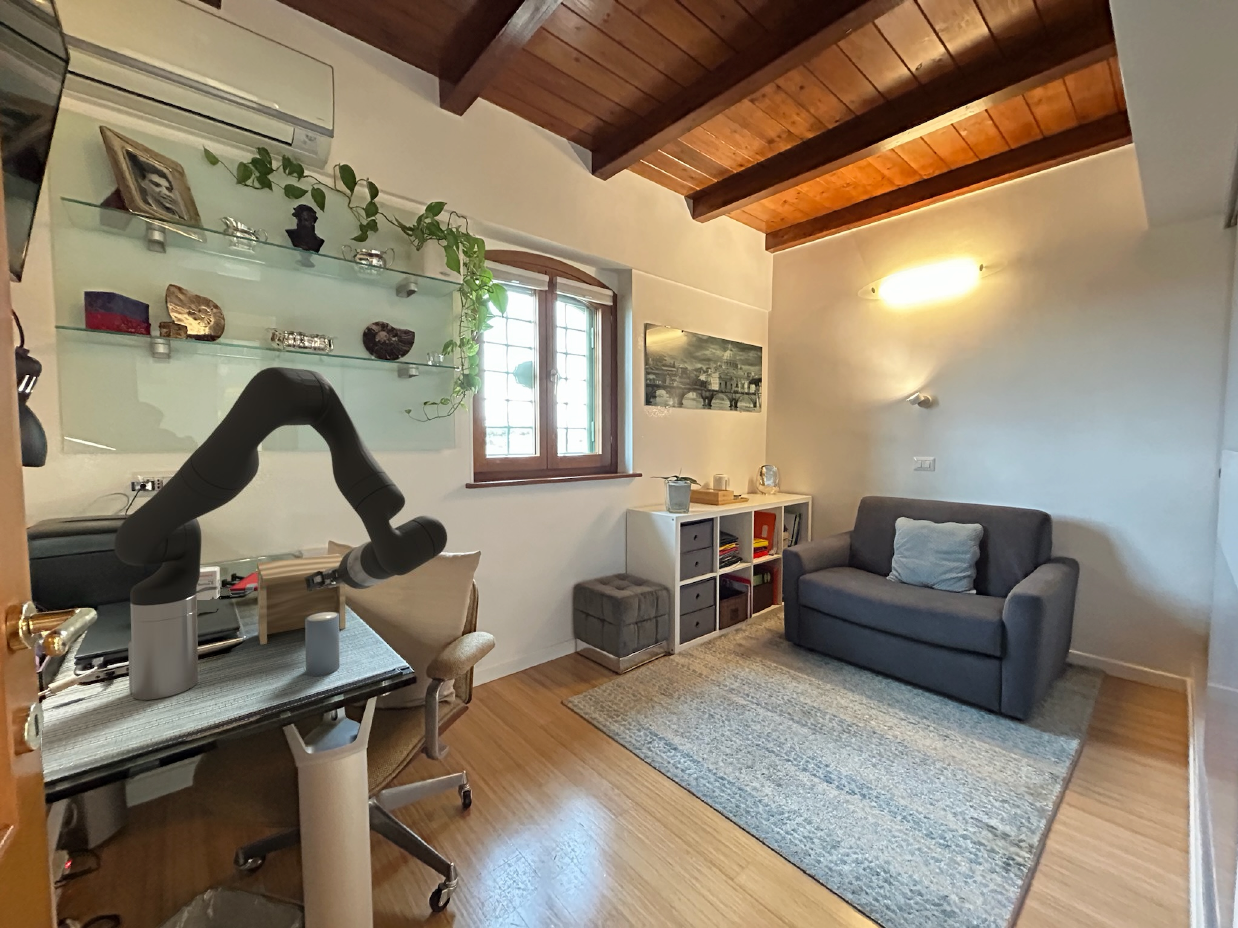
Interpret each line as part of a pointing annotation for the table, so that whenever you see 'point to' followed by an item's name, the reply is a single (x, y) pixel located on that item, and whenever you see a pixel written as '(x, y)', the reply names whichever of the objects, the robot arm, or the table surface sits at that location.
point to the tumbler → (322, 643)
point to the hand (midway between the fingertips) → (338, 579)
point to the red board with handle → (241, 584)
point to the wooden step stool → (295, 594)
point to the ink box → (208, 583)
